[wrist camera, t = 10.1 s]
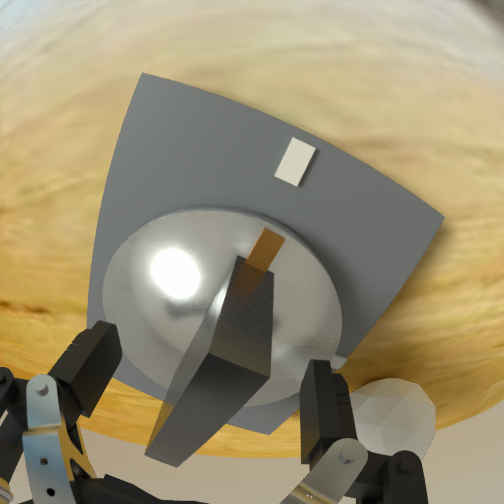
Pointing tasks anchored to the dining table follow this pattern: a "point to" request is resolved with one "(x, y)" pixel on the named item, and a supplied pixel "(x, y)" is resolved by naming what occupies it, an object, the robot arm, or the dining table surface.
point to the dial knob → (218, 317)
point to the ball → (393, 417)
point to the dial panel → (259, 206)
